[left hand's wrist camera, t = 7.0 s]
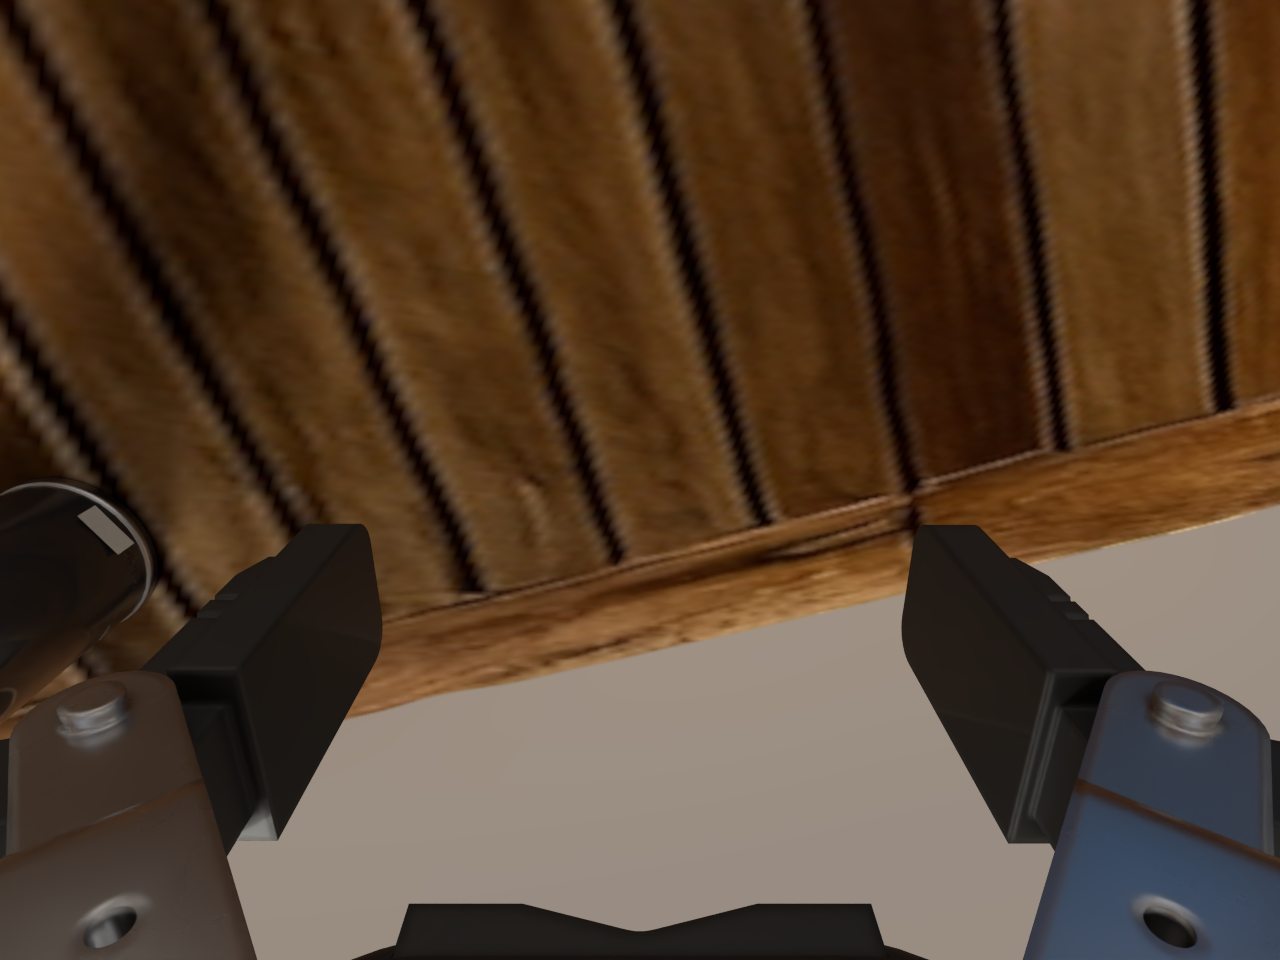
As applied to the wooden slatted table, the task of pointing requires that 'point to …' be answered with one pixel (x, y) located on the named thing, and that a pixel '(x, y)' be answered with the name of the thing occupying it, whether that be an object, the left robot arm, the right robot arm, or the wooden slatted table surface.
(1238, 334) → the wooden slatted table surface
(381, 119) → the wooden slatted table surface
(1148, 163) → the wooden slatted table surface
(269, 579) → the left robot arm
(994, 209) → the wooden slatted table surface
